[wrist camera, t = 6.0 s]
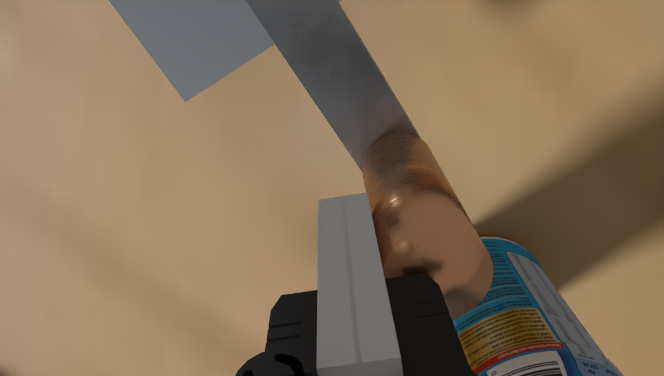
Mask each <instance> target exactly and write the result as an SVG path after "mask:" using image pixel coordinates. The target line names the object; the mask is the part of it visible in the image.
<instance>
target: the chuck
mask: <svg viewBox="0 0 664 376" xmlns="http://www.w3.org/2000/svg"><path fill="white" fill-rule="evenodd" d="M246 2H247V3H248V5H249V6H250V8H251V9H252V11H253V12H254V14H255V15H256V17H257V18H258V19H259V21H260V22H261V24H262V25H263V27H264V28H265V30H266V31H267V33H268V34H269V36H270V37H271V39H272V40H273V42H274V43H275V44H276V46H277V47H278V49H279V50H280V52H281V53H282V55H283V56H284V58H285V59H286V61H287V62H288V64H289V65H290V67H291V68H292V69H293V71H294V72H295V74H296V75H297V77H298V78H299V80H300V81H301V83H302V84H303V86H304V87H305V89H306V90H307V92H308V93H309V94H310V96H311V97H312V99H313V100H314V102H315V103H316V105H317V106H318V108H319V109H320V111H321V112H322V114H323V115H324V117H325V118H326V119H327V121H328V122H329V124H330V125H331V127H332V128H333V130H334V131H335V133H336V134H337V136H338V137H339V139H340V140H341V142H342V143H343V144H344V146H345V147H346V149H347V150H348V152H349V153H350V155H351V156H352V158H353V159H354V161H355V162H356V164H357V165H358V167H359V168H360V169H361V171H362V173H363V178H364V184H365V189H366V193H367V195H368V200H369V205H370V210H371V214H372V219H373V224H374V229H375V234H376V239H377V244H378V248H379V253H380V258H381V263H382V268H383V273H384V278H385V279H388V278H395V277H401V276H408V275H415V274H422V273H426V274H427V275H428V276H429V277H431V278H432V279H433V280H434V281H435V282H436V283H438V284H439V286H440V289H441V291H442V294H443V297H444V299H445V303H446V305H447V307H448V310H449V313H450V316H451V318H452V319H454V318H457V317H459V316H461V315H463V314H465V313H467V312H469V311H470V310H472V309H473V308H474V307H475V306H477V305H478V304H479V303H480V302H481V301H482V299H483V298H484V297H485V295H486V294H487V292H488V290H489V288H490V286H491V283H492V279H493V263H492V260H491V257H490V255H489V253H488V251H487V249H486V247H485V246H484V244H483V242H482V240H481V239H480V237H479V235H478V233H477V231H476V230H475V228H474V226H473V224H472V223H471V221H470V219H469V217H468V216H467V214H466V212H465V210H464V208H463V207H462V205H461V203H460V201H459V200H458V198H457V196H456V194H455V193H454V191H453V189H452V187H451V185H450V184H449V182H448V180H447V178H446V177H445V175H444V173H443V171H442V169H441V168H440V166H439V164H438V162H437V161H436V159H435V157H434V155H433V154H432V152H431V150H430V148H429V147H428V145H427V144H426V143H425V142H424V141H423V140H422V139H421V137H420V136H419V134H418V132H417V131H416V129H415V127H414V126H413V124H412V122H411V121H410V119H409V117H408V116H407V114H406V112H405V111H404V109H403V107H402V106H401V104H400V103H399V101H398V99H397V98H396V96H395V94H394V93H393V91H392V89H391V88H390V86H389V84H388V83H387V81H386V79H385V78H384V76H383V74H382V73H381V71H380V70H379V68H378V66H377V65H376V63H375V61H374V60H373V58H372V56H371V55H370V53H369V51H368V50H367V48H366V46H365V45H364V43H363V41H362V40H361V38H360V37H359V35H358V33H357V32H356V30H355V28H354V27H353V25H352V23H351V22H350V20H349V18H348V17H347V15H346V13H345V12H344V10H343V8H342V7H341V5H340V4H339V2H338V0H246Z"/></svg>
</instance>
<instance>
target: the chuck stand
mask: <svg viewBox="0 0 664 376" xmlns="http://www.w3.org/2000/svg"><path fill="white" fill-rule="evenodd" d="M109 1H110V2H111V4H112V5H113V6H114V8H115V9H116V10H117V12H118V13H119V14H120V16H121V17H122V18H123V20H124V21H125V22H126V24H127V25H128V26H129V28H130V29H131V30H132V32H133V33H134V34H135V36H136V37H137V38H138V40H139V41H140V42H141V44H142V45H143V46H144V48H145V49H146V50H147V52H148V53H149V54H150V56H151V57H152V58H153V60H154V61H155V62H156V64H157V65H158V66H159V68H160V69H161V70H162V72H163V73H164V74H165V76H166V77H167V78H168V80H169V81H170V82H171V84H172V85H173V86H174V88H175V89H176V90H177V92H178V93H179V94H180V96H181V97H182V98H183V100H184V101H185V102H186V101H188V100H189V99H191V98H192V97H194V96H195V95H197V94H198V93H200V92H201V91H203V90H204V89H206V88H208V87H209V86H211V85H212V84H214V83H215V82H217V81H218V80H220V79H221V78H223V77H224V76H226V75H228V74H229V73H231V72H232V71H234V70H235V69H237V68H238V67H240V66H241V65H243V64H244V63H246V62H248V61H249V60H251V59H252V58H254V57H255V56H257V55H258V54H260V53H261V52H263V51H264V50H266V49H268V48H269V47H271V46H272V45H274V44H275V43H274V42H273V40H272V39H271V37H270V36H269V34H268V33H267V31H266V30H265V28H264V27H263V25H262V24H261V22H260V21H259V19H258V18H257V17H256V15H255V14H254V12H253V11H252V9H251V8H250V6H249V5H248V3H247V2H246V0H109ZM340 1H341V0H338V2H340Z"/></svg>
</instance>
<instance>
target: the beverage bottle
mask: <svg viewBox="0 0 664 376" xmlns="http://www.w3.org/2000/svg"><path fill="white" fill-rule="evenodd" d="M480 239H481V240H482V242H483V244H484V246H485V247H486V249H487V251H488V253H489V255H490V257H491V260H492V263H493V279H492V283H491V286H490V288H489V290H488V292H487V294H486V295H485V297H484V298H483V299H482V301H481V302H480V303H479V304H478V305H477V306H475V307H474V308H473V309H472V310H470V311H469V312H467V313H465V314H463V315H461V316H459V317H457V318H454V319H452V321H453V323H454V326H455V329H456V331H457V334H458V337H459V339H460V342H461V345H462V347H463V350H464V353H465V355H466V358H467V361H468V363H469V365H470V367H471V369H472V371H473V372H474V373H475V374H477V375H478V376H623V375H622V373H621V372H620V371H619V369H618V368H617V367H616V366H615V365H614V364H613V363H612V362H611V361H610V360H609V359H607V358H606V357H605V355H604V354H603V353H602V351H601V350H600V349H599V347H598V346H597V344H596V343H595V342H594V340H593V339H592V338H591V336H590V335H589V333H588V332H587V331H586V329H585V328H584V327H583V325H582V324H581V323H580V321H579V320H578V318H577V317H576V316H575V314H574V313H573V312H572V310H571V309H570V307H569V306H568V305H567V303H566V302H565V300H564V299H563V298H562V296H561V295H560V294H559V292H558V291H557V289H556V288H555V287H554V285H553V284H552V282H551V281H550V280H549V278H548V277H547V275H546V274H545V272H544V270H543V269H542V267H541V266H540V264H539V263H538V261H537V260H536V259H535V257H534V256H533V255H532V254H531V253H530V252H529V251H528V250H526V249H525V248H524V247H522V246H521V245H519V244H517V243H515V242H513V241H510V240H507V239H503V238H499V237H480Z"/></svg>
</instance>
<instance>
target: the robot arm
mask: <svg viewBox="0 0 664 376" xmlns="http://www.w3.org/2000/svg"><path fill="white" fill-rule="evenodd" d="M236 376H478V375H477V374H475V373H474V372H473V371H472V369H471V367H470V365H469V363H468V361H467V358H466V355H465V353H464V350H463V347H462V345H461V342H460V339H459V337H458V334H457V331H456V329H455V326H454V323H453V321H452V318H451V316H450V313H449V310H448V307H447V305H446V303H445V299H444V297H443V294H442V291H441V289H440V286H439V284H438V283H436V282H435V281H434V280H433V279H432V278H431V277H429V276H428V275H427V274H426V273H422V274H415V275H408V276H401V277H395V278H388V279H385V278H384V273H383V268H382V263H381V258H380V253H379V248H378V244H377V239H376V234H375V229H374V224H373V219H372V214H371V210H370V205H369V200H368V195H367V193H361V194H354V195H348V196H341V197H334V198H328V199H321V200H319V213H318V290H315V291H308V292H301V293H294V294H287V295H281V297H280V298H279V300H278V301H277V303H276V304H275V305H274V307H273V308H272V310H271V314H270V320H269V329H268V334H267V343H266V347H265V352H262V353H260V354H258V355H256V356H255V357H253V358H251V359H249V360H248V361H247V362H246V363H245V364H244V365H243V366H242V367H241V368H240V369H239V370H238V371H237V374H236Z"/></svg>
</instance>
